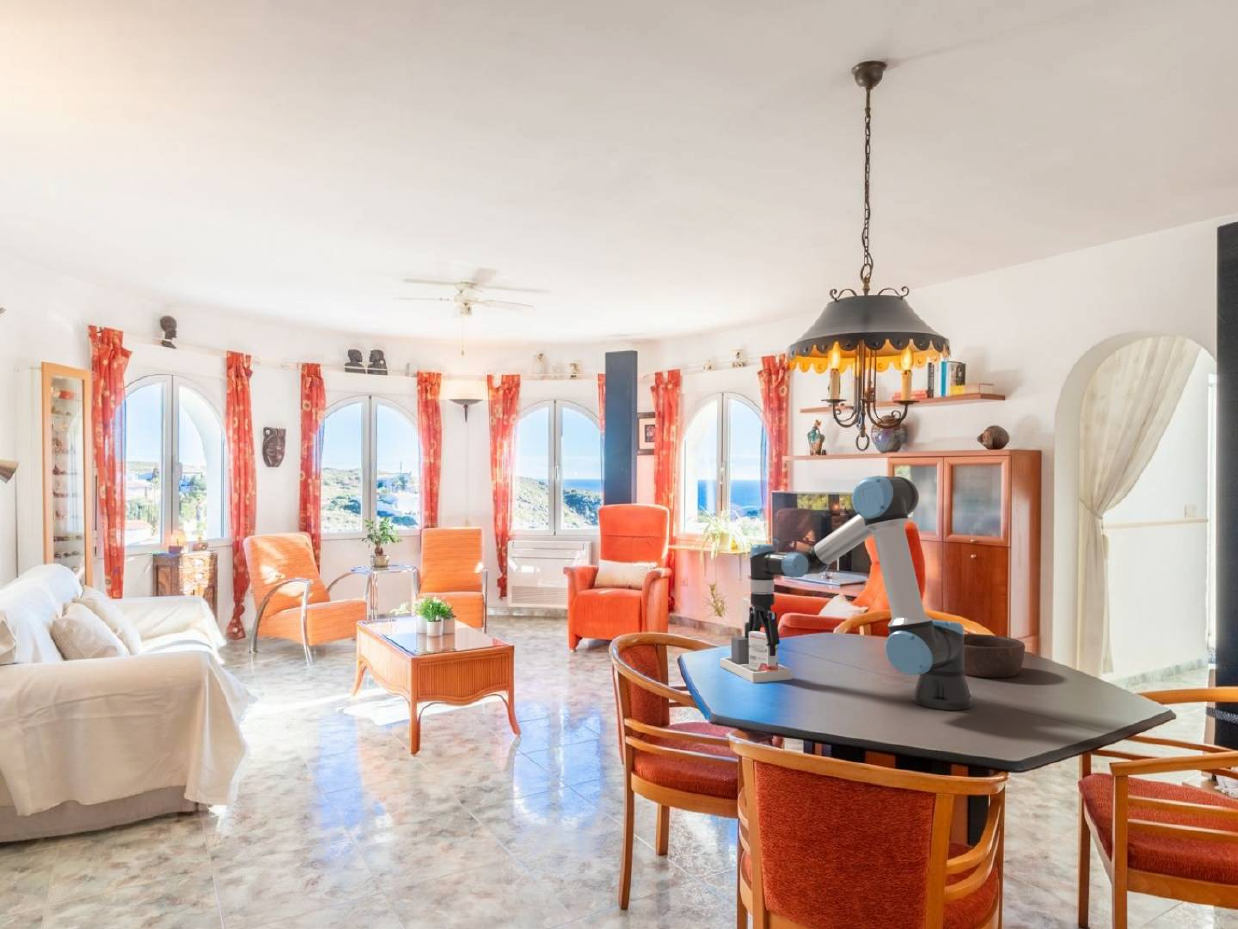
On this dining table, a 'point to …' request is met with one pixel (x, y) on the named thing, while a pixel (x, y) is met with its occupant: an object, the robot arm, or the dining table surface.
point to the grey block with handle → (740, 648)
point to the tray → (756, 672)
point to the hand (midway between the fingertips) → (763, 662)
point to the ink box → (759, 651)
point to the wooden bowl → (992, 656)
